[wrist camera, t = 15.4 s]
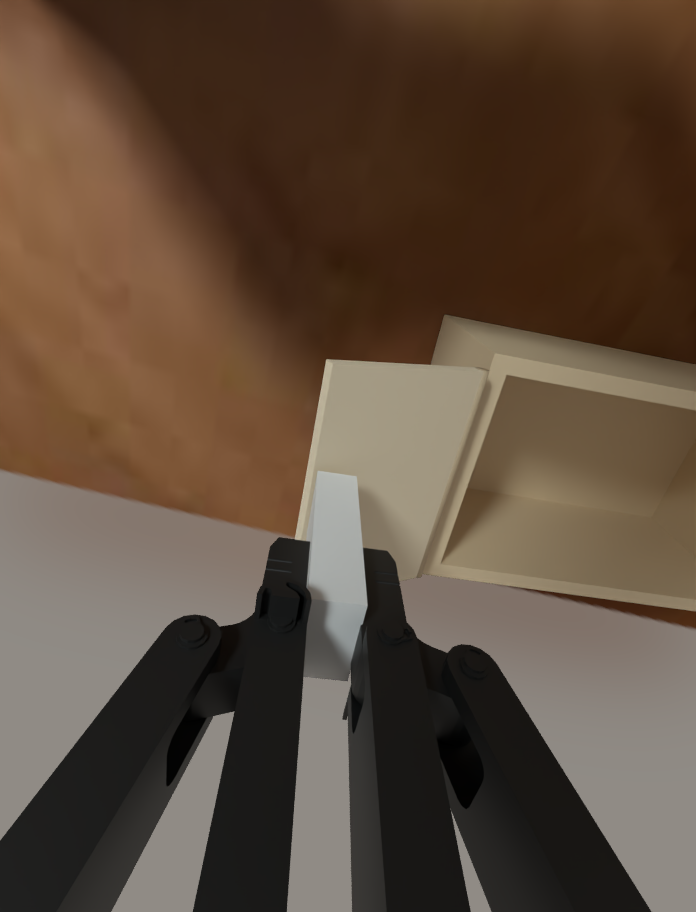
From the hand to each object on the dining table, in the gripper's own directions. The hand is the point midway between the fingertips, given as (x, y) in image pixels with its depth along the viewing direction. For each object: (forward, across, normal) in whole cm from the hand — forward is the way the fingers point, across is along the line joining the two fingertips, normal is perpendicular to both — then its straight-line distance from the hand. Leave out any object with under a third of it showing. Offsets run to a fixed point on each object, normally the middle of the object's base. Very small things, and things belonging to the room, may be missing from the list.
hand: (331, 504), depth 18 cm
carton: (+14, +16, 0) cm, 21 cm away
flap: (+4, +5, 0) cm, 6 cm away
